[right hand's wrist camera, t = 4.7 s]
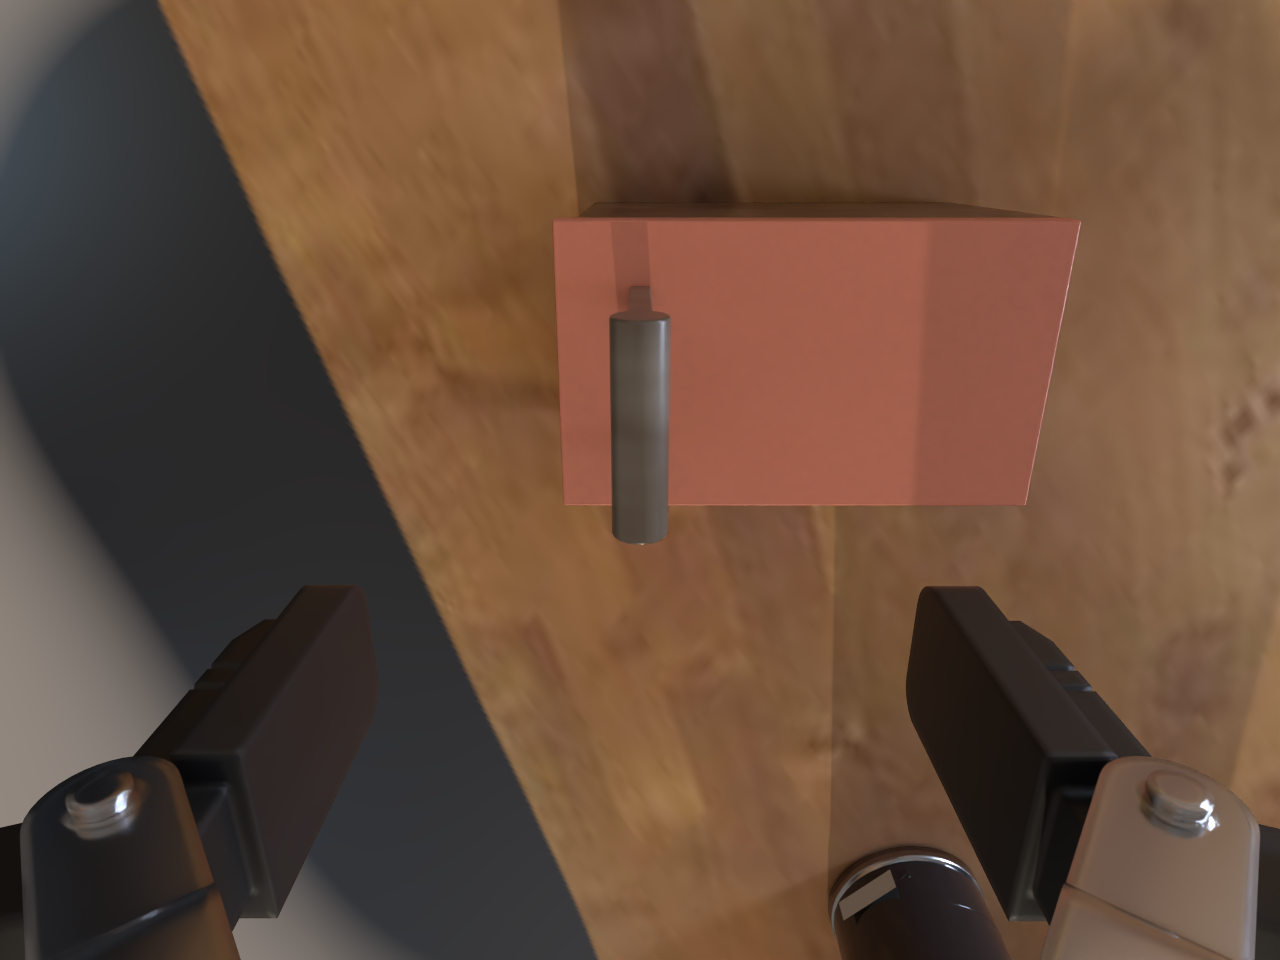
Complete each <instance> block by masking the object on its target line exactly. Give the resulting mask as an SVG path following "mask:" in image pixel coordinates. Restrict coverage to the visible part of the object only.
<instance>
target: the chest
mask: <svg viewBox="0 0 1280 960" xmlns="http://www.w3.org/2000/svg"><path fill="white" fill-rule="evenodd" d="M579 218H1058V217H1052V216H1045V215H1037V214H1030V213H1022V212H1015V211H1007V210H1000V209H992V208H984V207H977V206H969V205H962V204H955V203H594V204H593V205H592V206H591V207H590V208H589V209H588V210H587V211H586V212H585V213H583V214H582V215H581V216H580V217H579Z"/></svg>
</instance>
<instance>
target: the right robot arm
mask: <svg viewBox="0 0 1280 960" xmlns="http://www.w3.org/2000/svg"><path fill="white" fill-rule="evenodd" d="M377 695H378V677H377V669H376V662H375V655H374V649H373V642H372V635H371V628H370V621H369V614H368V608H367V602H366V597H365V593H364V591H363V589H362V588H361V587H360V586H358V585H306V586H304V587H302V588H301V589H300V590H299V592H298V593H297V594H296V595H295V597H294V598H293V599H292V600H291V602H290V603H289V604H288V605H287V607H286V608H285V609H284V610H283V612H282V613H281V614H280V615H279V617H278V618H277V619H276V620H263V621H262V622H260V623H259V624H257V625H255V626H254V627H252V628H251V629H249V630H247V631H246V632H244V633H243V634H241V635H240V636H238V637H236V638H235V639H233V640H232V641H231V642H230V643H229V645H228V646H227V647H226V648H225V649H224V650H223V652H222V653H221V654H220V655H219V656H218V657H217V659H216V660H215V661H214V662H213V663H212V668H211V669H207V670H206V672H205V673H204V674H203V675H202V676H201V677H200V679H199V680H198V681H197V682H196V683H195V687H194V690H189V691H188V693H187V694H186V695H185V696H184V697H183V698H182V700H181V701H180V702H179V703H178V704H177V706H176V707H175V708H174V709H173V710H172V711H171V713H170V714H169V715H168V716H167V717H166V718H165V720H164V721H163V722H162V723H161V724H160V726H159V727H158V728H157V729H156V730H155V731H154V733H153V734H152V735H151V736H150V737H149V738H148V740H147V741H146V742H145V743H144V744H143V745H142V747H141V748H140V749H139V750H138V751H137V752H136V754H135V755H134V756H133V757H126V758H121V759H116V760H112V761H108V762H105V763H102V764H99V765H96V766H93V767H91V768H88V769H86V770H83V771H81V772H79V773H77V774H75V775H73V776H71V777H70V778H68V779H66V780H65V781H63V782H61V783H60V784H58V785H57V786H55V787H54V788H53V789H51V790H50V791H49V792H47V793H46V794H45V795H44V796H43V797H42V798H41V799H40V800H38V801H37V803H36V804H35V805H34V806H33V807H32V808H31V809H30V811H29V812H28V814H27V815H26V817H25V818H24V821H23V823H20V824H15V825H11V826H6V827H2V828H0V960H241V959H240V956H239V953H238V950H237V947H236V943H235V940H234V937H233V934H232V931H233V929H234V927H235V925H236V923H237V922H238V919H239V918H278V916H279V913H280V911H281V909H282V907H283V905H284V903H285V901H286V899H287V897H288V895H289V893H290V891H291V888H292V886H293V884H294V882H295V880H296V878H297V876H298V874H299V872H300V870H301V868H302V866H303V863H304V861H305V859H306V857H307V855H308V853H309V851H310V849H311V847H312V845H313V843H314V840H315V838H316V836H317V834H318V832H319V830H320V828H321V826H322V824H323V822H324V820H325V818H326V815H327V813H328V811H329V809H330V807H331V805H332V803H333V801H334V799H335V797H336V795H337V792H338V790H339V788H340V786H341V784H342V782H343V780H344V778H345V776H346V774H347V772H348V770H349V768H350V765H351V763H352V761H353V759H354V757H355V755H356V753H357V751H358V749H359V747H360V744H361V742H362V740H363V738H364V736H365V734H366V732H367V730H368V728H369V726H370V724H371V721H372V719H373V716H374V713H375V709H376V703H377ZM906 697H907V705H908V710H909V714H910V717H911V721H912V723H913V725H914V727H915V729H916V731H917V733H918V735H919V738H920V740H921V742H922V744H923V746H924V748H925V750H926V752H927V754H928V756H929V758H930V760H931V762H932V764H933V766H934V768H935V770H936V773H937V775H938V777H939V779H940V781H941V783H942V785H943V787H944V789H945V791H946V793H947V795H948V797H949V799H950V801H951V803H952V806H953V808H954V810H955V812H956V814H957V816H958V818H959V820H960V822H961V824H962V826H963V828H964V830H965V832H966V834H967V836H968V838H969V841H970V843H971V845H972V847H973V849H974V851H975V853H976V855H977V857H978V859H979V861H980V863H981V865H982V867H983V869H984V871H985V873H986V876H987V878H988V880H989V882H990V884H991V886H992V888H993V890H994V892H995V894H996V896H997V898H998V900H999V902H1000V904H1001V906H1002V908H1003V911H1004V913H1005V915H1006V917H1007V919H1008V921H1047V922H1048V924H1049V926H1050V928H1049V931H1048V934H1047V937H1046V940H1045V943H1044V947H1043V950H1042V953H1041V956H1040V959H1039V960H1280V829H1277V828H1273V827H1268V826H1265V825H1261V824H1258V823H1257V821H1256V818H1255V817H1254V815H1253V814H1252V812H1251V811H1250V809H1249V808H1248V807H1247V806H1246V805H1245V804H1244V803H1243V801H1242V800H1241V799H1239V798H1238V797H1237V796H1236V795H1235V794H1234V793H1233V792H1231V791H1230V790H1229V789H1227V788H1226V787H1225V786H1223V785H1222V784H1220V783H1219V782H1217V781H1215V780H1214V779H1212V778H1210V777H1209V776H1207V775H1205V774H1203V773H1201V772H1199V771H1197V770H1194V769H1192V768H1189V767H1187V766H1184V765H1182V764H1178V763H1175V762H1172V761H1169V760H1164V759H1160V758H1154V757H1152V756H1151V755H1150V754H1149V753H1148V752H1147V751H1146V749H1145V748H1144V747H1143V746H1142V745H1141V744H1140V742H1139V741H1138V740H1137V739H1136V738H1135V737H1134V735H1133V734H1132V733H1131V732H1130V731H1129V730H1128V729H1127V727H1126V726H1125V725H1124V724H1123V723H1122V722H1121V720H1120V719H1119V718H1118V717H1117V716H1116V715H1115V713H1114V712H1113V711H1112V710H1111V709H1110V708H1109V706H1108V705H1107V704H1106V703H1105V702H1104V701H1103V699H1102V698H1101V697H1100V696H1099V695H1098V694H1097V692H1092V691H1091V686H1090V684H1089V683H1088V682H1087V681H1086V680H1085V679H1084V677H1083V676H1082V675H1081V674H1080V673H1079V672H1078V671H1074V666H1073V665H1072V663H1071V662H1070V661H1069V660H1068V659H1067V658H1066V656H1065V655H1064V654H1063V653H1062V652H1061V651H1060V649H1059V648H1058V647H1057V646H1056V645H1055V644H1054V643H1053V642H1052V641H1051V640H1049V639H1048V638H1046V637H1045V636H1043V635H1041V634H1040V633H1038V632H1037V631H1035V630H1034V629H1032V628H1030V627H1029V626H1027V625H1026V624H1024V623H1023V622H1021V621H1008V619H1007V618H1006V617H1005V616H1004V614H1003V613H1002V612H1001V611H1000V609H999V608H998V607H997V606H996V605H995V603H994V602H993V601H992V600H991V598H990V597H989V596H988V595H987V593H986V592H985V591H984V590H983V589H982V588H980V587H977V586H927V587H925V588H923V590H922V591H921V593H920V595H919V599H918V604H917V610H916V617H915V623H914V630H913V637H912V644H911V650H910V657H909V664H908V670H907V678H906ZM828 909H829V917H830V921H831V925H832V929H833V932H834V935H835V938H836V940H837V941H838V946H839V950H840V954H841V958H842V960H1011V958H1010V956H1009V954H1008V951H1007V949H1006V947H1005V945H1004V943H1003V941H1002V939H1001V936H1000V934H999V931H998V929H997V927H996V925H995V923H994V921H993V919H992V917H991V914H990V912H989V910H988V908H987V906H986V904H985V900H984V896H983V893H982V891H981V889H980V887H979V885H978V882H977V880H976V878H975V876H974V874H973V873H972V871H971V870H970V869H969V868H968V867H967V865H966V864H964V863H963V862H962V861H961V860H959V859H958V858H956V857H955V856H953V855H951V854H949V853H946V852H944V851H941V850H938V849H933V848H928V847H918V846H907V847H898V848H892V849H888V850H884V851H881V852H877V853H875V854H872V855H870V856H868V857H866V858H864V859H862V860H860V861H859V862H857V863H856V864H854V865H853V866H852V867H850V868H849V869H848V870H847V871H846V872H845V873H844V874H843V875H842V876H841V877H840V878H839V880H838V881H837V883H836V884H835V886H834V888H833V890H832V892H831V895H830V899H829V905H828Z"/></svg>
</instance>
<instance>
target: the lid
mask: <svg viewBox="0 0 1280 960" xmlns="http://www.w3.org/2000/svg"><path fill="white" fill-rule="evenodd" d="M1080 224H1081V221H1080V220H1075V219H1068V218H556V219H555V220H553V248H554V274H555V299H556V325H557V351H558V376H559V402H560V428H561V453H562V479H563V504H564V505H612V533H613V535H614V537H615V538H616V539H618V540H620V541H622V542H625V543H629V544H651V543H655V542H658V541H660V540H662V539H664V538H665V537H666V535H667V533H668V505H1025V504H1026V499H1027V494H1028V489H1029V484H1030V479H1031V474H1032V469H1033V464H1034V459H1035V453H1036V448H1037V443H1038V438H1039V433H1040V428H1041V423H1042V418H1043V413H1044V408H1045V403H1046V397H1047V392H1048V387H1049V382H1050V377H1051V372H1052V367H1053V362H1054V357H1055V352H1056V347H1057V341H1058V336H1059V331H1060V326H1061V321H1062V316H1063V311H1064V306H1065V301H1066V296H1067V291H1068V285H1069V280H1070V275H1071V270H1072V265H1073V260H1074V255H1075V250H1076V245H1077V240H1078V235H1079V229H1080Z"/></svg>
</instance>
